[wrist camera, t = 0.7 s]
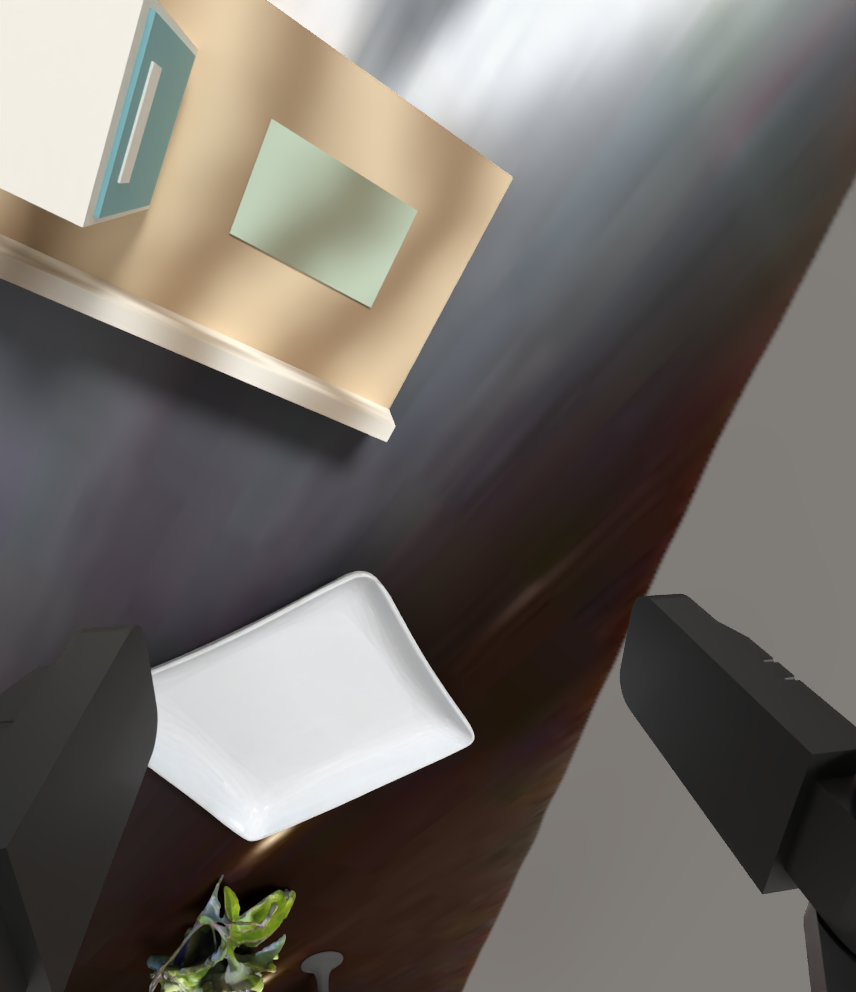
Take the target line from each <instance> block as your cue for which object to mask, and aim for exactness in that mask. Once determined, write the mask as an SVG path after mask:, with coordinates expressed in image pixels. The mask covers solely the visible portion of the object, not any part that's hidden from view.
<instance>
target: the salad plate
mask: <svg viewBox="0 0 856 992" xmlns="http://www.w3.org/2000/svg"><path fill="white" fill-rule="evenodd" d="M151 674H152V680H153V686H154V692H155V698H156V704H157V713H158V724H157V735H156V741H155V746H154V750H153V753H152V756H151V759H150V761H149V764H148V767H149V768H151V769H152V770H154V771H155V772H156V773H157V774H159V775H160V776H162V777H163V778H164V779H166V780H167V781H168V782H170V783H171V784H172V785H174V786H175V787H177V788H178V789H179V790H181V791H182V792H183V793H185V794H186V795H187V796H189V797H190V798H191V799H193V800H194V801H195V802H197V803H198V804H199V805H200V806H202V807H203V808H204V809H206V810H207V811H208V812H209V813H211V814H212V815H213V816H214V817H215V818H217V819H218V820H219V821H221V822H222V823H223V824H225V825H226V826H227V827H228V828H230V829H231V830H232V831H234V832H235V833H237V834H238V835H239V836H241V837H242V838H244V839H246V840H248V841H257V840H260V839H263V838H265V837H268V836H270V835H273V834H275V833H278V832H280V831H283V830H285V829H287V828H289V827H292V826H294V825H296V824H299V823H301V822H303V821H306V820H308V819H310V818H312V817H315V816H317V815H319V814H322V813H324V812H326V811H328V810H331V809H333V808H335V807H337V806H340V805H342V804H344V803H346V802H348V801H350V800H353V799H355V798H357V797H359V796H361V795H364V794H366V793H368V792H370V791H372V790H374V789H377V788H379V787H381V786H383V785H385V784H387V783H390V782H392V781H394V780H396V779H399V778H401V777H403V776H405V775H407V774H409V773H412V772H414V771H416V770H418V769H420V768H423V767H425V766H427V765H429V764H431V763H434V762H436V761H438V760H440V759H442V758H445V757H447V756H449V755H451V754H453V753H455V752H457V751H459V750H461V749H463V748H465V747H467V746H468V745H470V744H471V743H472V742H473V741H474V732H473V730H472V728H471V726H470V724H469V723H468V721H467V720H466V718H465V717H464V715H463V714H462V712H461V711H460V710H459V708H458V707H457V705H456V704H455V702H454V701H453V700H452V698H451V697H450V695H449V694H448V692H447V691H446V689H445V688H444V686H443V685H442V683H441V682H440V680H439V679H438V677H437V676H436V674H435V673H434V671H433V670H432V668H431V667H430V665H429V664H428V662H427V660H426V659H425V657H424V655H423V654H422V652H421V650H420V649H419V647H418V645H417V644H416V642H415V640H414V638H413V637H412V635H411V633H410V632H409V630H408V628H407V626H406V624H405V622H404V620H403V619H402V617H401V615H400V613H399V611H398V609H397V608H396V606H395V604H394V602H393V600H392V598H391V597H390V595H389V593H388V592H387V591H386V589H385V588H384V587H383V585H382V584H381V582H380V581H379V580H378V579H377V578H376V577H375V576H374V575H372V574H371V573H369V572H365V571H355V572H351V573H348V574H346V575H343V576H341V577H339V578H338V579H336V580H334V581H332V582H330V583H328V584H326V585H324V586H322V587H320V588H319V589H317V590H315V591H313V592H311V593H309V594H308V595H306V596H304V597H302V598H300V599H298V600H296V601H294V602H292V603H290V604H289V605H287V606H285V607H283V608H281V609H279V610H277V611H275V612H273V613H271V614H269V615H267V616H265V617H263V618H261V619H259V620H257V621H255V622H253V623H251V624H249V625H246V626H244V627H242V628H240V629H238V630H236V631H234V632H232V633H230V634H228V635H226V636H223V637H221V638H219V639H217V640H215V641H213V642H211V643H208V644H206V645H204V646H202V647H200V648H197V649H195V650H193V651H191V652H188V653H186V654H184V655H182V656H179V657H177V658H175V659H172V660H170V661H167V662H165V663H163V664H160V665H158V666H155V667H153V668H151Z"/></svg>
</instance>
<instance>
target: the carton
mask: <svg viewBox="0 0 856 992" xmlns="http://www.w3.org/2000/svg"><path fill="white" fill-rule="evenodd" d="M197 51H198V49H197V48H196V46H195V45H194V44H193V43H192V42H191V40H190V39H189V38H188V37H187V35H186V34H185V33H184V32H183V31H182V29H181V28H180V27H179V26H178V25H177V23H176V22H175V21H174V20H173V18H172V17H171V16H170V15H169V14H168V12H167V11H166V10H165V9H164V7H163V6H162V5H161V4H160V3H159V1H158V0H0V188H1V189H3V190H5V191H7V192H10V193H12V194H14V195H16V196H18V197H20V198H22V199H24V200H26V201H28V202H30V203H32V204H35V205H37V206H39V207H41V208H43V209H45V210H47V211H49V212H51V213H53V214H55V215H57V216H59V217H62V218H64V219H66V220H68V221H70V222H72V223H74V224H76V225H78V226H80V227H82V228H83V227H87V226H90V225H94V224H97V223H101V222H104V221H108V220H111V219H115V218H118V217H122V216H125V215H129V214H132V213H136V212H139V211H143V210H146V209H149V207H150V204H151V200H152V197H153V194H154V191H155V187H156V184H157V181H158V178H159V174H160V171H161V168H162V165H163V161H164V158H165V155H166V152H167V148H168V145H169V142H170V139H171V135H172V132H173V129H174V126H175V122H176V119H177V116H178V113H179V109H180V106H181V103H182V100H183V96H184V93H185V90H186V87H187V84H188V80H189V77H190V74H191V71H192V67H193V64H194V61H195V58H196V54H197Z"/></svg>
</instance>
